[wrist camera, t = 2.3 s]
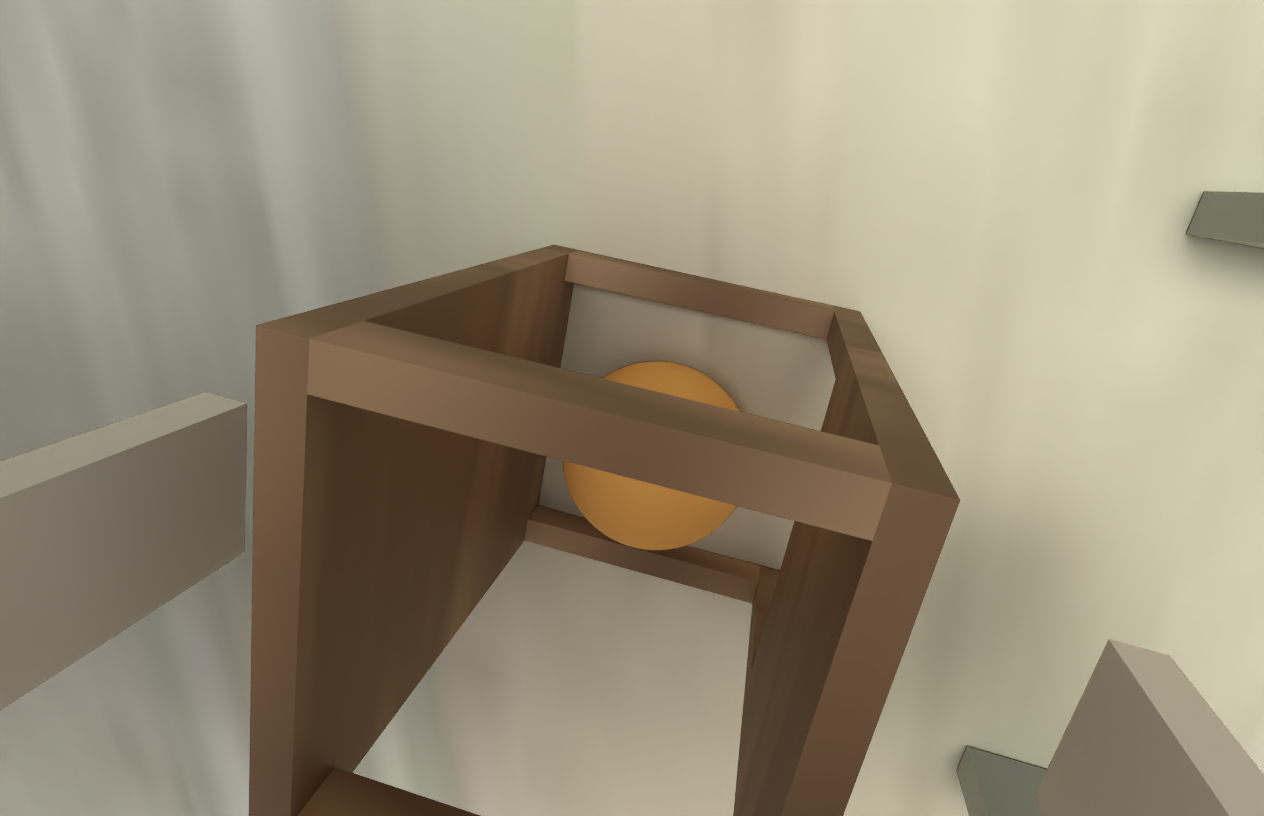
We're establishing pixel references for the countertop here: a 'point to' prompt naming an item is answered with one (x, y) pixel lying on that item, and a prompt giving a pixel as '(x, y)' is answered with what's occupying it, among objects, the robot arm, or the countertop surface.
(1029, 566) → the countertop surface
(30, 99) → the countertop surface
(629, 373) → the ball
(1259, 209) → the u-shaped frame
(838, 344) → the open box frame
